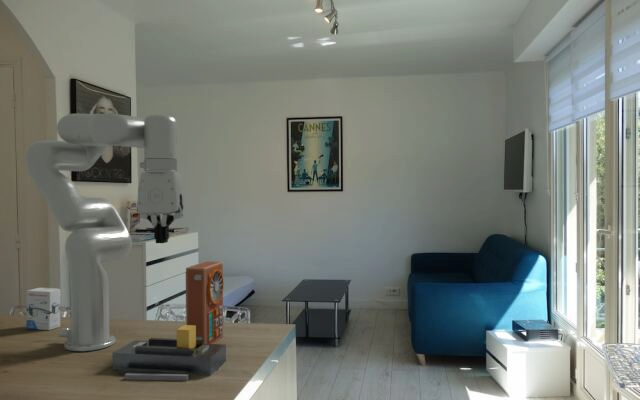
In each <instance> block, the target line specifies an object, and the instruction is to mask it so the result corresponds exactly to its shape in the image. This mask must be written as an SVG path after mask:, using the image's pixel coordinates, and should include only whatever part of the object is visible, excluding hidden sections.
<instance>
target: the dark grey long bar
mask: <svg viewBox="0 0 640 400" xmlns="http://www.w3.org/2000/svg"><path fill="white" fill-rule="evenodd" d="M117 372H118V373H117V374H118V375H122V376H125V374H126V373H134V374H187V371H176V370H158V369H140V368H122V367H121V368H120V369H118V370H117Z"/></svg>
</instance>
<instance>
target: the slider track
mask: <svg viewBox="0 0 640 400" xmlns="http://www.w3.org/2000/svg"><path fill="white" fill-rule="evenodd" d="M225 362H227V344H225V343H213V344H205V340H196V347H194V348H180V347H177V338H169V337H168V338H165V337H164V338H163V337H150V338H149V339H148V340H137V339H136V340H133V341H131V342H129V343H127V344H126V345H124V346H122V347H120V348H119V349H116V350H114V351H113V352H112V370H114V371H118V369H120V368H121V367H122V368H140V369H158V370H176V371H187V374H188V375H200V376H212V375H213V374H214V373H215V372H216V371H217V370H218V369H219V368H220V367H222V365H223V364H225Z"/></svg>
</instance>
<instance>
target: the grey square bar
mask: <svg viewBox="0 0 640 400" xmlns="http://www.w3.org/2000/svg"><path fill="white" fill-rule="evenodd" d="M124 380H127V381H128V380H129V381H130V380H131V381H132V380H133V381H134V380H135V381H137V380H138V381H139V380H140V381H141V380H142V381H182V382H183V381H188V380H189V374H134V373H126V374H125V375H124Z"/></svg>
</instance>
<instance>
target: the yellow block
mask: <svg viewBox="0 0 640 400" xmlns="http://www.w3.org/2000/svg"><path fill="white" fill-rule="evenodd" d="M176 339H177V347H180V348H194V347H196V326H195V325H186V324H184V325H182V326H179V328H176Z"/></svg>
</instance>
